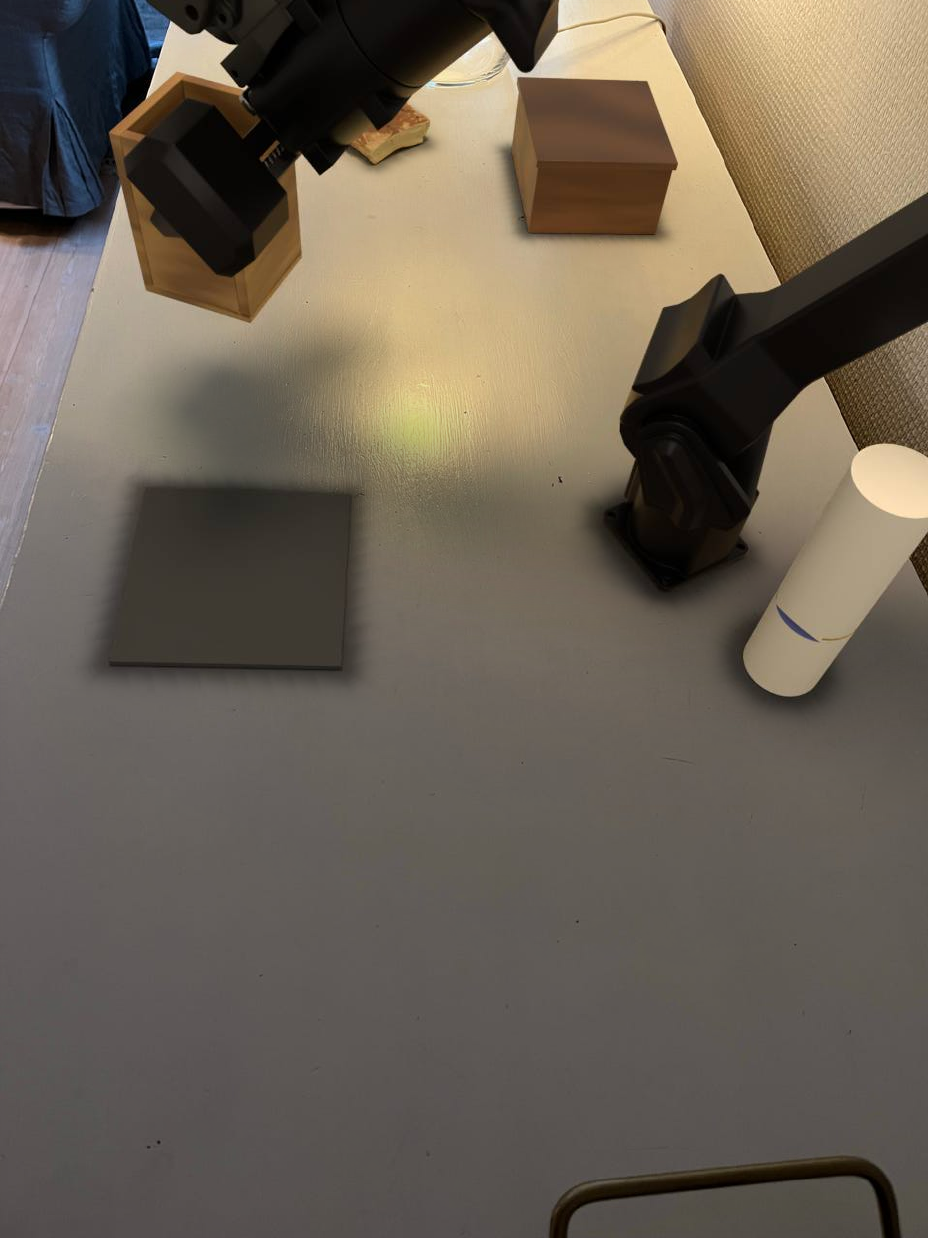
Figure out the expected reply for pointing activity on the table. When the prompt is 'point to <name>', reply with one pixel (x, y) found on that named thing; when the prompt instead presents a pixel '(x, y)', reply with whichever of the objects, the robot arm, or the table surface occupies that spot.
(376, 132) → the pie slice
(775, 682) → the tube
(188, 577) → the mat
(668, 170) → the lidded wooden box
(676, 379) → the robot arm
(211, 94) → the open wooden box
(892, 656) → the table surface
